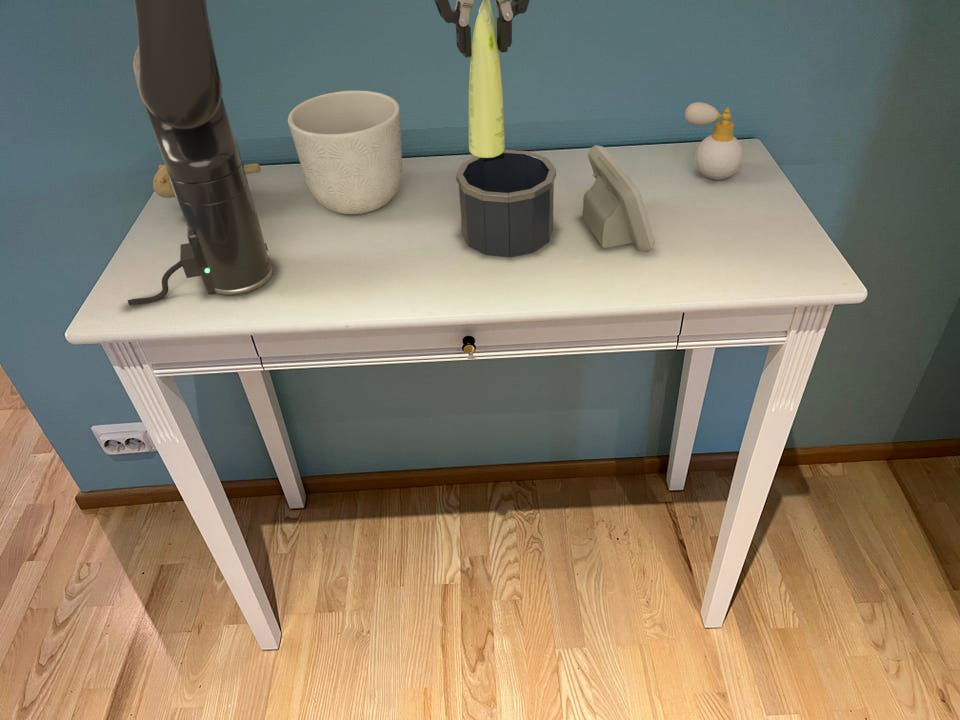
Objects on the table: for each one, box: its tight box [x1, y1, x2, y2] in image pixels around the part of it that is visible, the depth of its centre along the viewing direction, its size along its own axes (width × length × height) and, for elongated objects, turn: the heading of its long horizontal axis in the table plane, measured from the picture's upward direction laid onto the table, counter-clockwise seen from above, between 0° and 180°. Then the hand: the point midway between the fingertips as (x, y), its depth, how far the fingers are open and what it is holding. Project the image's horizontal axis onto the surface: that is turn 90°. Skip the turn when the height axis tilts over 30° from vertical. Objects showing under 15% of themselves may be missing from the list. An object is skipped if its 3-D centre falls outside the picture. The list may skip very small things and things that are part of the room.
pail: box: [455, 149, 557, 258], centre depth 109 cm, size 14×14×10 cm
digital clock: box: [581, 144, 655, 252], centre depth 108 cm, size 16×9×11 cm, turn 2°
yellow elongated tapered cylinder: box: [468, 0, 506, 158], centre depth 94 cm, size 6×5×20 cm
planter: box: [287, 90, 403, 215], centre depth 116 cm, size 17×17×15 cm
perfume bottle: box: [684, 101, 744, 181], centre depth 118 cm, size 8×10×12 cm
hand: (484, 52), depth 92 cm, fingers closed on yellow elongated tapered cylinder, 4 cm apart
